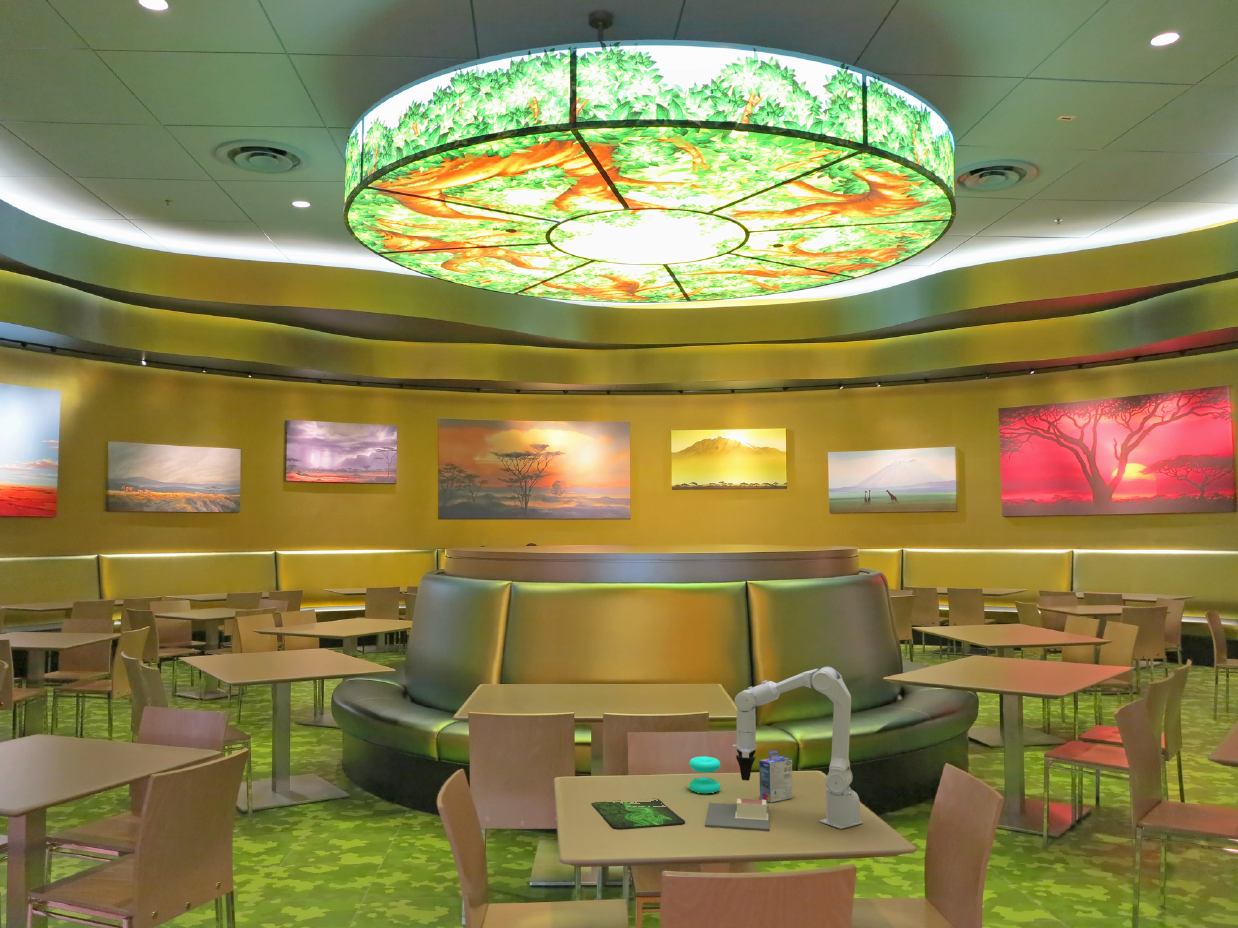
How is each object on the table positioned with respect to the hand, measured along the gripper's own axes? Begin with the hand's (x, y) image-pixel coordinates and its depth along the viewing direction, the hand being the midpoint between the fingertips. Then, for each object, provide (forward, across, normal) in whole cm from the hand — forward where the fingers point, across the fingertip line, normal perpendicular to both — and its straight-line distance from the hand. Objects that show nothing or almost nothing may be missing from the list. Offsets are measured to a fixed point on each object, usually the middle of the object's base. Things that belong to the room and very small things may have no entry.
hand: (745, 776), depth 275 cm
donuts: (+10, -19, -13) cm, 25 cm away
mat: (+10, +7, -2) cm, 12 cm away
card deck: (+9, +7, +2) cm, 12 cm away
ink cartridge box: (+10, -15, +9) cm, 20 cm away
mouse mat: (+10, +9, -32) cm, 35 cm away
